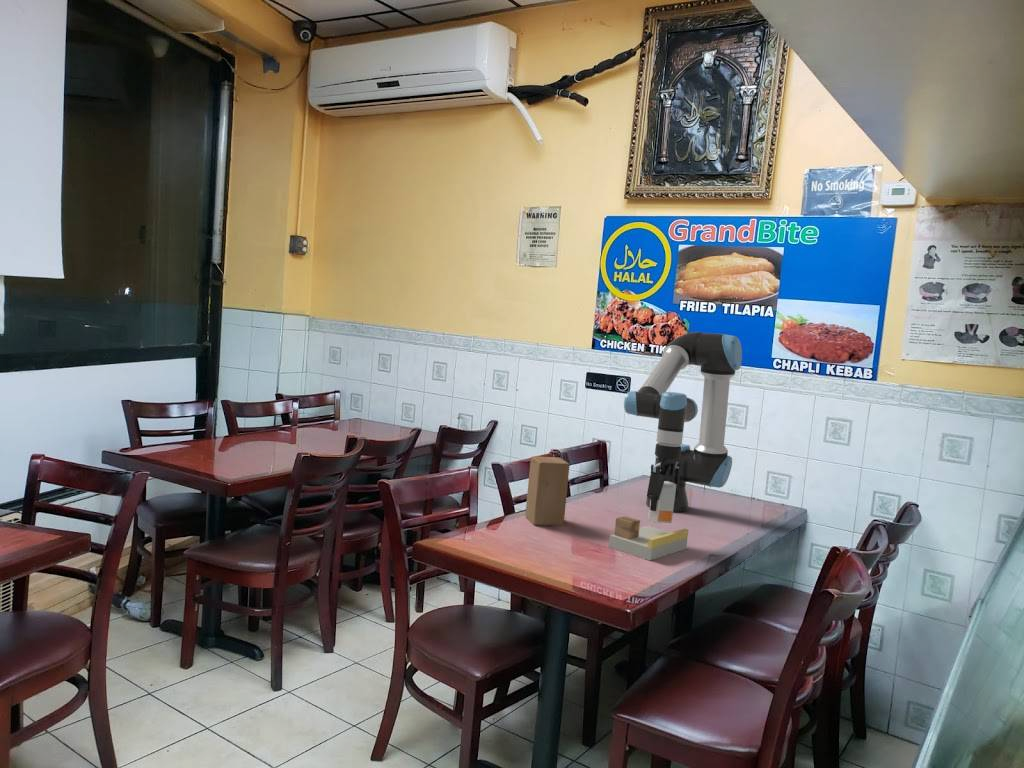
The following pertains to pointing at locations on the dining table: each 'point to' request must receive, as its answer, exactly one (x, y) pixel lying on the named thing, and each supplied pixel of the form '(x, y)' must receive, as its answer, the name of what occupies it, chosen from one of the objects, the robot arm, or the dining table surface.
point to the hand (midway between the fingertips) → (660, 519)
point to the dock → (651, 543)
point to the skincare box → (666, 502)
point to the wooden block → (547, 491)
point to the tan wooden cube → (627, 527)
